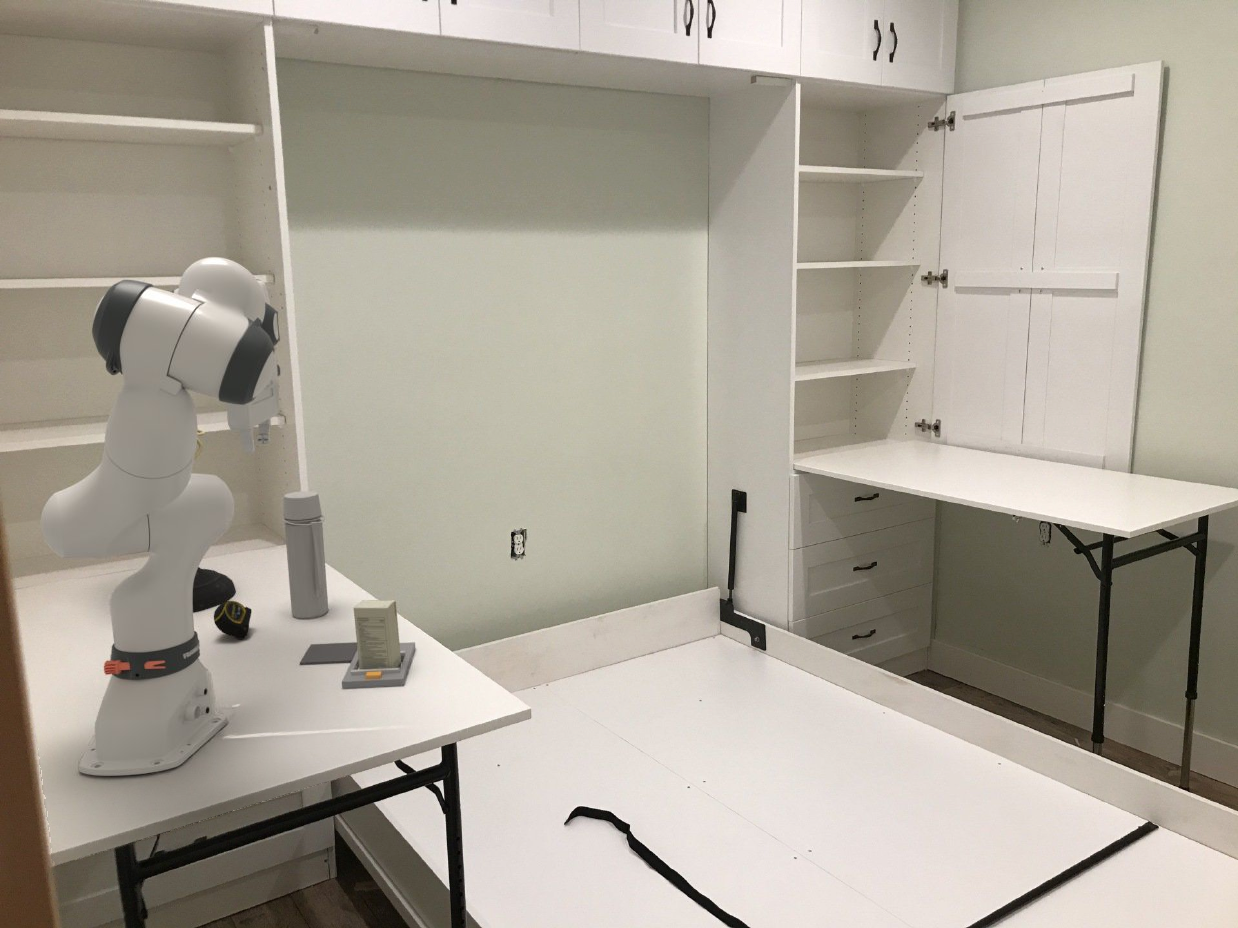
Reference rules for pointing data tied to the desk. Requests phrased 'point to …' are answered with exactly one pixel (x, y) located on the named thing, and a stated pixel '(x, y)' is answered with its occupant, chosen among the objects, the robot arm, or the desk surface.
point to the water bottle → (305, 554)
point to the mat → (329, 653)
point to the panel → (379, 672)
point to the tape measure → (233, 619)
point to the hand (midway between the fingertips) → (257, 447)
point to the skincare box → (377, 634)
